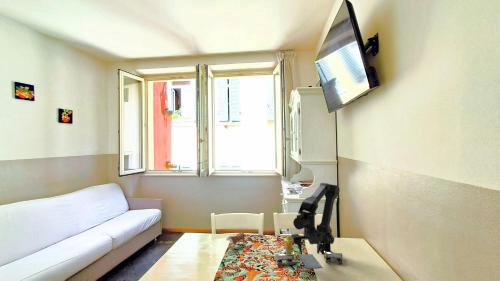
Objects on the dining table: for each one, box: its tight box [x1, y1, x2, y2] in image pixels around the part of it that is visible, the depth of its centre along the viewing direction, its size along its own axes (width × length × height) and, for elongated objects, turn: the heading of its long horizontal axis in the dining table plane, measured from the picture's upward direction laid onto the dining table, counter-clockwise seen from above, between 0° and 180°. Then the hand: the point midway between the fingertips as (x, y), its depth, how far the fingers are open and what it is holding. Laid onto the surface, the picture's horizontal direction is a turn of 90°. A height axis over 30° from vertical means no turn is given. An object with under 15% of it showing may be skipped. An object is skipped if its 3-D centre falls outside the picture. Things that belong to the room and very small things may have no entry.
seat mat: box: [298, 253, 323, 270], centre depth 125 cm, size 14×8×1 cm, turn 6°
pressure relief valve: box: [277, 234, 295, 254], centre depth 131 cm, size 6×12×10 cm, turn 138°
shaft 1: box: [275, 252, 297, 266], centre depth 124 cm, size 10×4×5 cm, turn 96°
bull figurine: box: [225, 231, 245, 250], centre depth 144 cm, size 4×13×8 cm, turn 133°
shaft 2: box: [323, 251, 343, 265], centre depth 125 cm, size 9×4×5 cm, turn 76°
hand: (309, 254), depth 125 cm, fingers open, 9 cm apart
